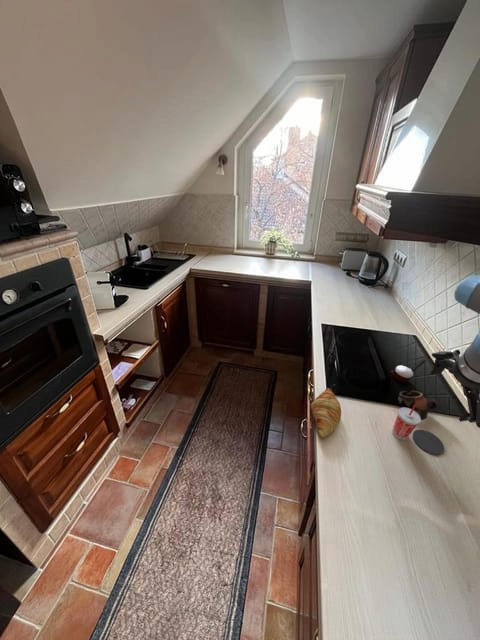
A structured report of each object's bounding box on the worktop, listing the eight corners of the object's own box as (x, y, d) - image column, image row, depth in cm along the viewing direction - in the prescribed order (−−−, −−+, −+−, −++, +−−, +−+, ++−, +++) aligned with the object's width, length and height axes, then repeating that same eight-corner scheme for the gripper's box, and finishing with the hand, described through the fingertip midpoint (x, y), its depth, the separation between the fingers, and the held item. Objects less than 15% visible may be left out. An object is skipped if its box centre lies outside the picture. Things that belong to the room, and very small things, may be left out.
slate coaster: (437, 433, 84) (437, 432, 84) (448, 458, 77) (449, 457, 76) (408, 427, 86) (409, 426, 85) (417, 451, 78) (417, 450, 78)
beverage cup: (386, 433, 83) (401, 403, 76) (392, 422, 87) (407, 393, 80) (406, 445, 80) (424, 416, 73) (412, 433, 84) (429, 404, 76)
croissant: (328, 449, 82) (346, 440, 77) (303, 431, 82) (319, 421, 77) (332, 400, 98) (347, 390, 94) (311, 385, 98) (324, 375, 94)
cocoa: (387, 379, 105) (397, 356, 99) (390, 370, 110) (400, 348, 104) (413, 389, 101) (426, 366, 95) (415, 380, 105) (427, 357, 99)
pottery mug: (406, 422, 88) (402, 399, 87) (395, 411, 97) (392, 390, 97) (445, 420, 85) (442, 396, 85) (430, 409, 94) (427, 387, 94)
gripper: (428, 326, 64) (412, 359, 81) (499, 431, 49) (462, 444, 66) (461, 317, 62) (438, 352, 79) (545, 423, 48) (495, 438, 64)
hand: (449, 394), depth 73 cm, fingers open, 13 cm apart
